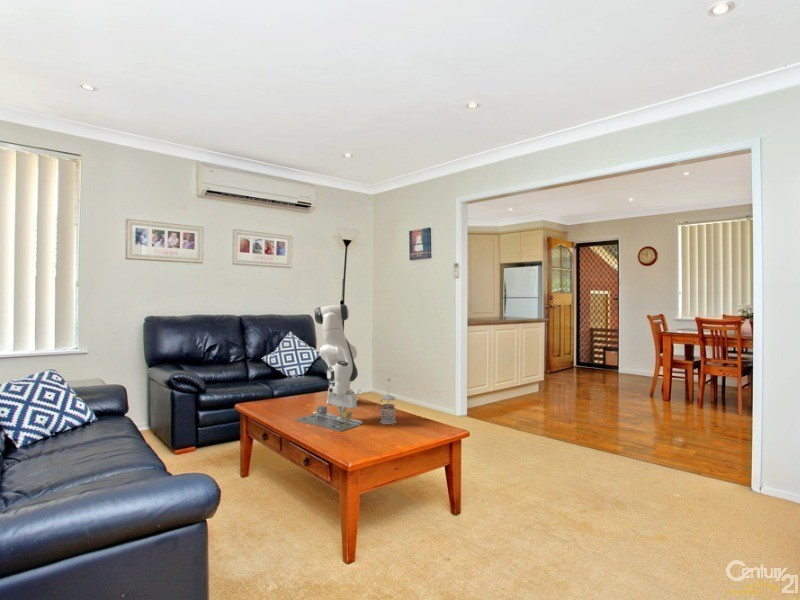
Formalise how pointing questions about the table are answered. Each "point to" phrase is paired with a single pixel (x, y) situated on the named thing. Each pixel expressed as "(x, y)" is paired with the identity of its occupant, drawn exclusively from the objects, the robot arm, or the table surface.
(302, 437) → the table surface
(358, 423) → the trammel beam
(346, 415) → the sliding head
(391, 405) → the french press
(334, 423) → the flange plate
